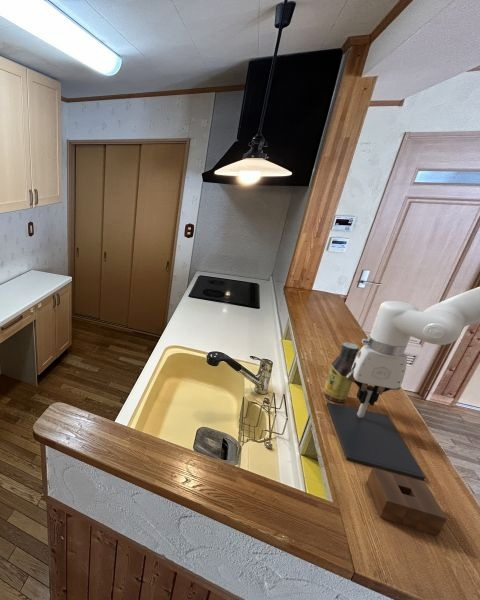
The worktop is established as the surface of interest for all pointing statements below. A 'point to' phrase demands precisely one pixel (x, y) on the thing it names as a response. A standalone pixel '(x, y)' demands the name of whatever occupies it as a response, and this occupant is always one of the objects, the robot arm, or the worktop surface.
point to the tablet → (372, 441)
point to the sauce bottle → (340, 374)
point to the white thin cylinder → (365, 404)
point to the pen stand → (405, 501)
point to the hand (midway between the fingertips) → (365, 401)
